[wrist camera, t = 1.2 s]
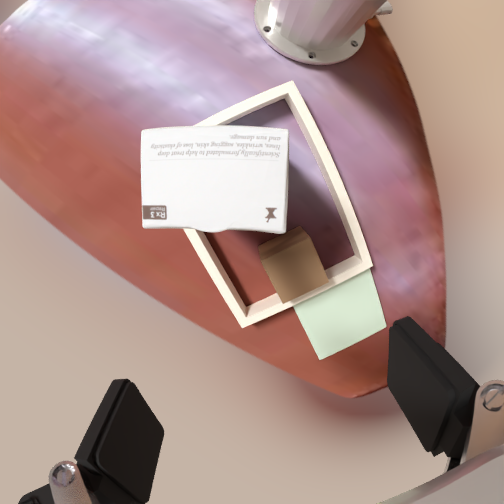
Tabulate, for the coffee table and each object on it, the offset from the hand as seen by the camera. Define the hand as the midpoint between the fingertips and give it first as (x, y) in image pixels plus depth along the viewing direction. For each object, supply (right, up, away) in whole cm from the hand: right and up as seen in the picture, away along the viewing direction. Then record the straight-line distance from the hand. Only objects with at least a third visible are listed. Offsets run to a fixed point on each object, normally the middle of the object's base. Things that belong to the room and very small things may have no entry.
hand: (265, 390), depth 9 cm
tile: (+11, -3, +25) cm, 27 cm away
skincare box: (-3, +13, +19) cm, 24 cm away
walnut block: (+4, +4, +22) cm, 23 cm away
